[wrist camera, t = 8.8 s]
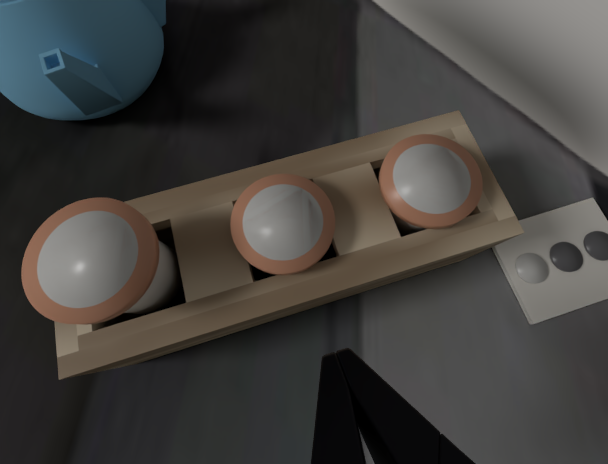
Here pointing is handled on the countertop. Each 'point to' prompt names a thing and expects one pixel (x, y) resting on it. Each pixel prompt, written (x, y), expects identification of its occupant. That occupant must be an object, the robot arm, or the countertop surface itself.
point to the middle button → (283, 224)
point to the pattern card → (558, 260)
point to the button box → (296, 287)
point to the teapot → (79, 54)
